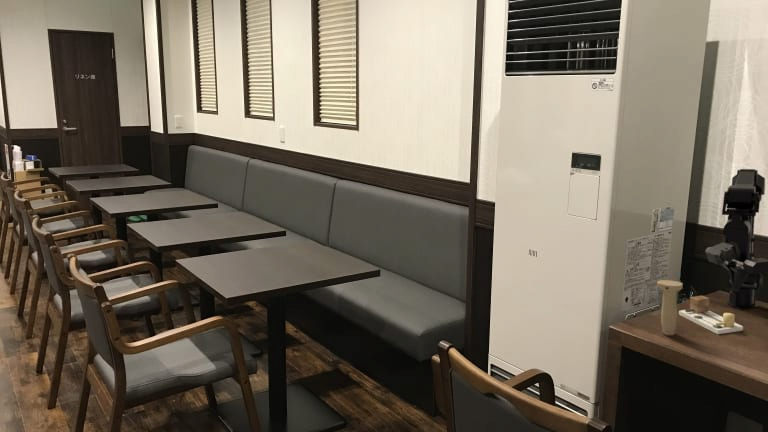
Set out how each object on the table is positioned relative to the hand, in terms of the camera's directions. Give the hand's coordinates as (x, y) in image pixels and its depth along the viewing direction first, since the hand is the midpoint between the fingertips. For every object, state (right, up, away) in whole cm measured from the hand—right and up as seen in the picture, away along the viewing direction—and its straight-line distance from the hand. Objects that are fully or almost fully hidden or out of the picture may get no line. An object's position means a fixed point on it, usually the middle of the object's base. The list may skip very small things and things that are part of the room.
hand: (736, 289), depth 166 cm
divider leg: (-2, -9, +17) cm, 19 cm away
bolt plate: (-1, -11, +12) cm, 16 cm away
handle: (-16, -13, +6) cm, 22 cm away
